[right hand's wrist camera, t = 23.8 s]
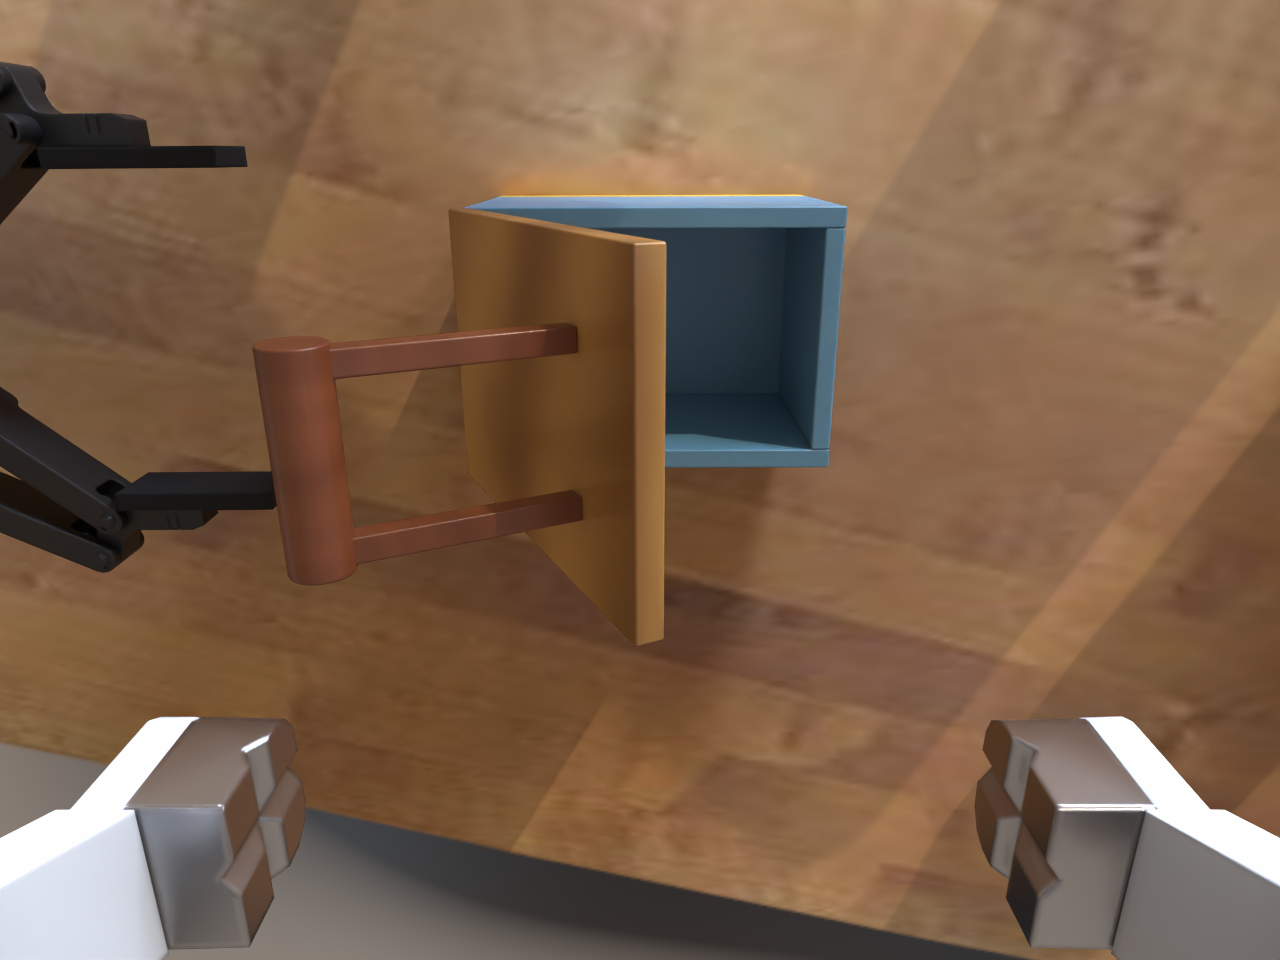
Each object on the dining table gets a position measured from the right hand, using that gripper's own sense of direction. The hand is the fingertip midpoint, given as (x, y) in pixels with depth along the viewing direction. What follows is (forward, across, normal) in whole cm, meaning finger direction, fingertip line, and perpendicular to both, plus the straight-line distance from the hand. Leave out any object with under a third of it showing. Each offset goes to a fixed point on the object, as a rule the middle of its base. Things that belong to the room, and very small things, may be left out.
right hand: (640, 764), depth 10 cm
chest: (+34, 0, 0) cm, 34 cm away
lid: (+18, -3, 0) cm, 18 cm away
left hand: (+27, -16, 0) cm, 31 cm away
